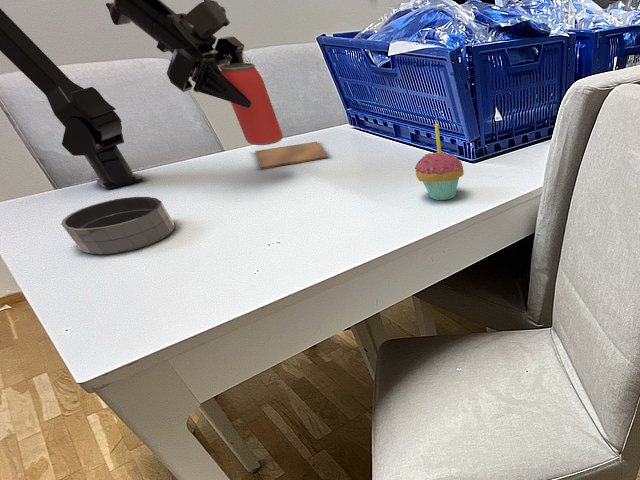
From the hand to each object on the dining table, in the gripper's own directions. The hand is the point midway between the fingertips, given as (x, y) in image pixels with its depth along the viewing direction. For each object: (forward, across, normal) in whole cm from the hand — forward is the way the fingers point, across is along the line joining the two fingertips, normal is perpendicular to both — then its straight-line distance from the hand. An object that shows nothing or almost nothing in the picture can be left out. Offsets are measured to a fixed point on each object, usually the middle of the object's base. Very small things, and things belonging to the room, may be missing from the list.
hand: (258, 101), depth 82 cm
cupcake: (+33, -13, -15) cm, 39 cm away
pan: (-1, -27, +20) cm, 34 cm away
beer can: (+4, 0, +6) cm, 7 cm away
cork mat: (+6, +15, +13) cm, 21 cm away
